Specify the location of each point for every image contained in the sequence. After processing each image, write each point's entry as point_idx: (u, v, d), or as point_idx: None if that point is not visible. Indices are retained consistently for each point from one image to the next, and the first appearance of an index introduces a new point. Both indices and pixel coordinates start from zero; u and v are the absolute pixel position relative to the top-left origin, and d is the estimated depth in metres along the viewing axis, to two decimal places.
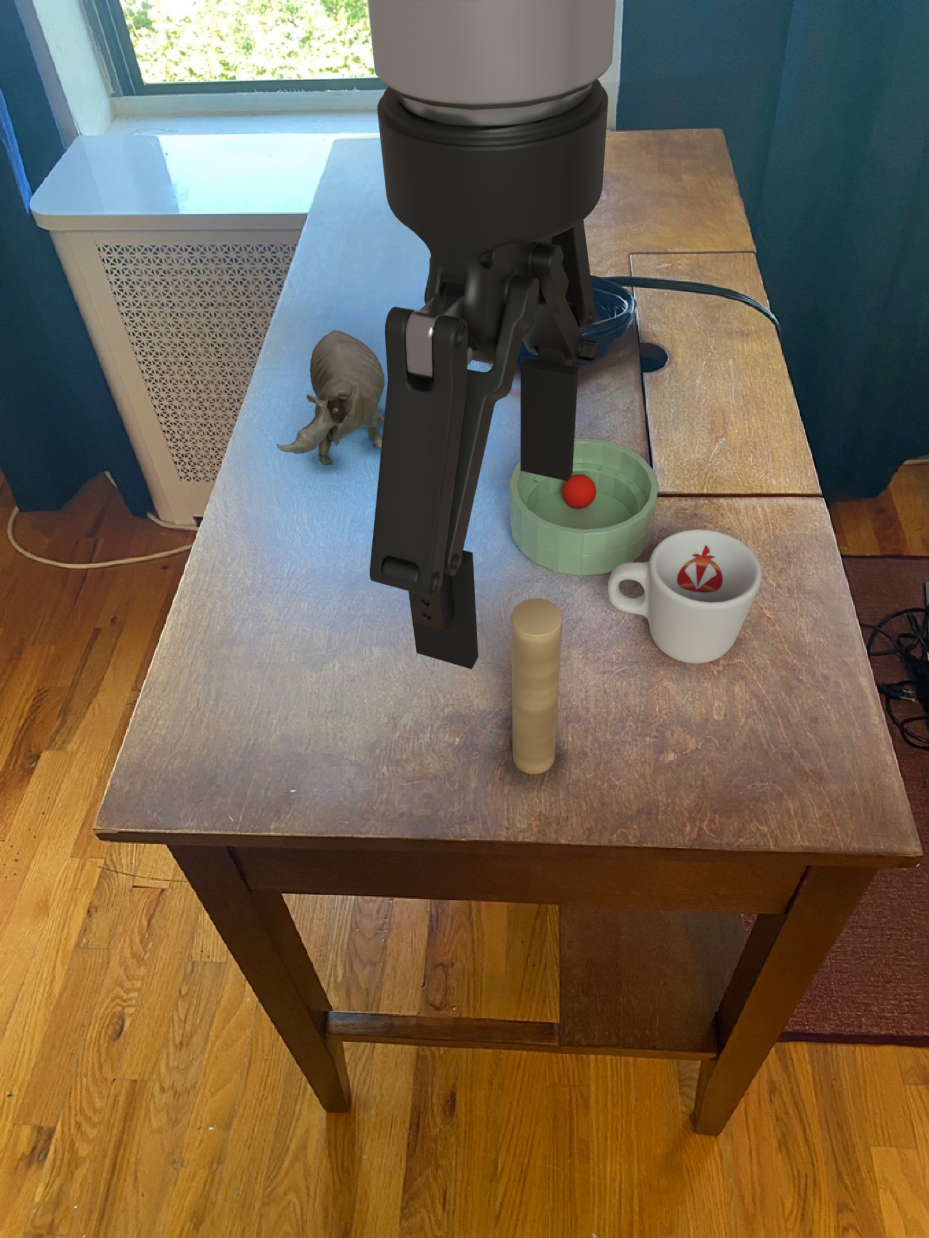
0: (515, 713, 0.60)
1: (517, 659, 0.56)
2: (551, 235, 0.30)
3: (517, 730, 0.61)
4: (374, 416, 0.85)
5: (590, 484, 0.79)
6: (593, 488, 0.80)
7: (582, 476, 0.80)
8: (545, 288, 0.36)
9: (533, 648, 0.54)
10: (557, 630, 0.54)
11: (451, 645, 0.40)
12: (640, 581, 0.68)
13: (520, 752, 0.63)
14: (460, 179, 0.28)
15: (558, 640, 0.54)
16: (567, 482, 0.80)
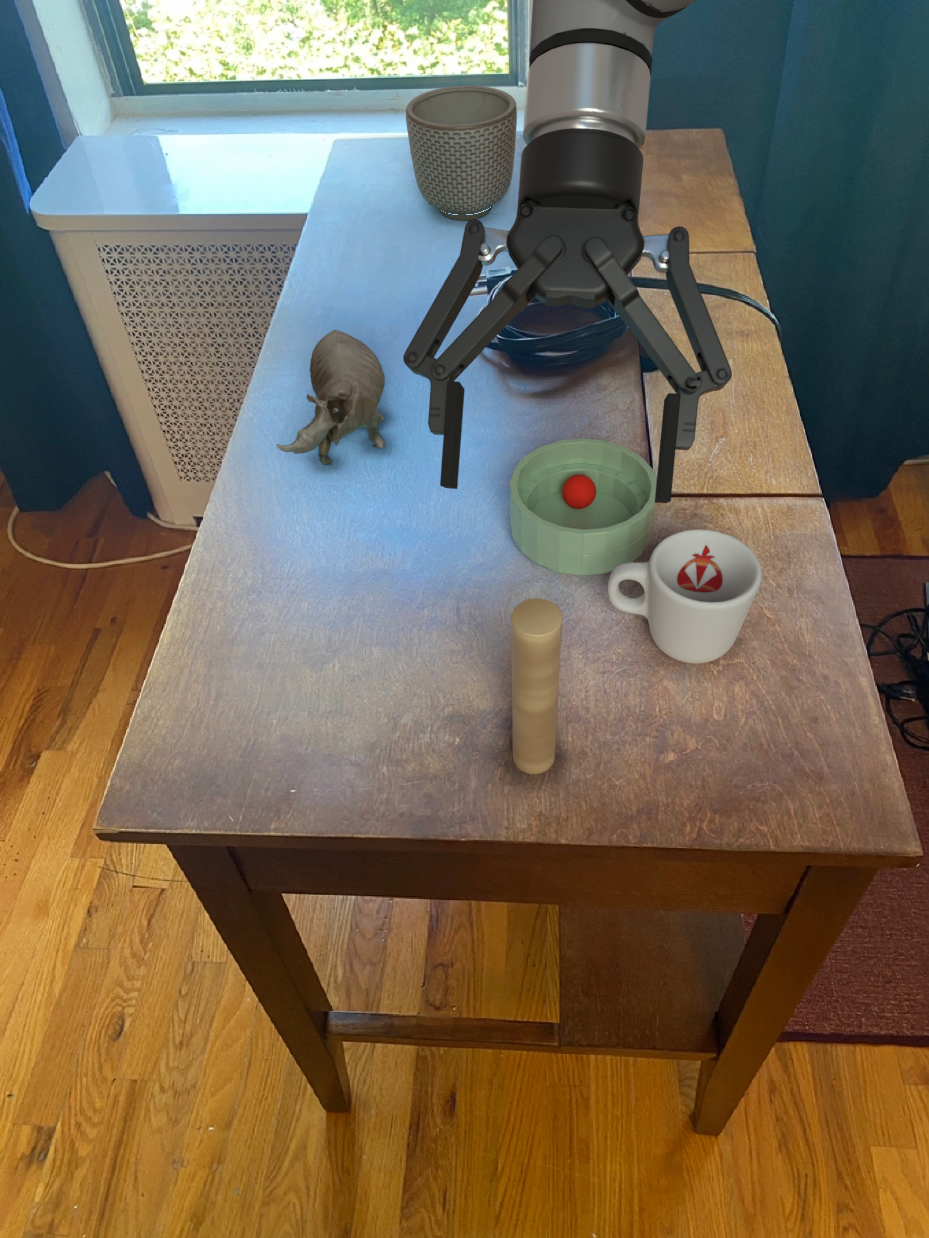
0: (515, 713, 0.60)
1: (517, 659, 0.56)
2: (540, 190, 0.54)
3: (517, 730, 0.61)
4: (374, 416, 0.85)
5: (590, 484, 0.79)
6: (593, 488, 0.80)
7: (582, 476, 0.80)
8: (598, 271, 0.56)
9: (533, 648, 0.54)
10: (557, 630, 0.54)
11: None
12: (640, 581, 0.68)
13: (520, 752, 0.63)
14: (520, 171, 0.57)
15: (558, 640, 0.54)
16: (567, 482, 0.80)
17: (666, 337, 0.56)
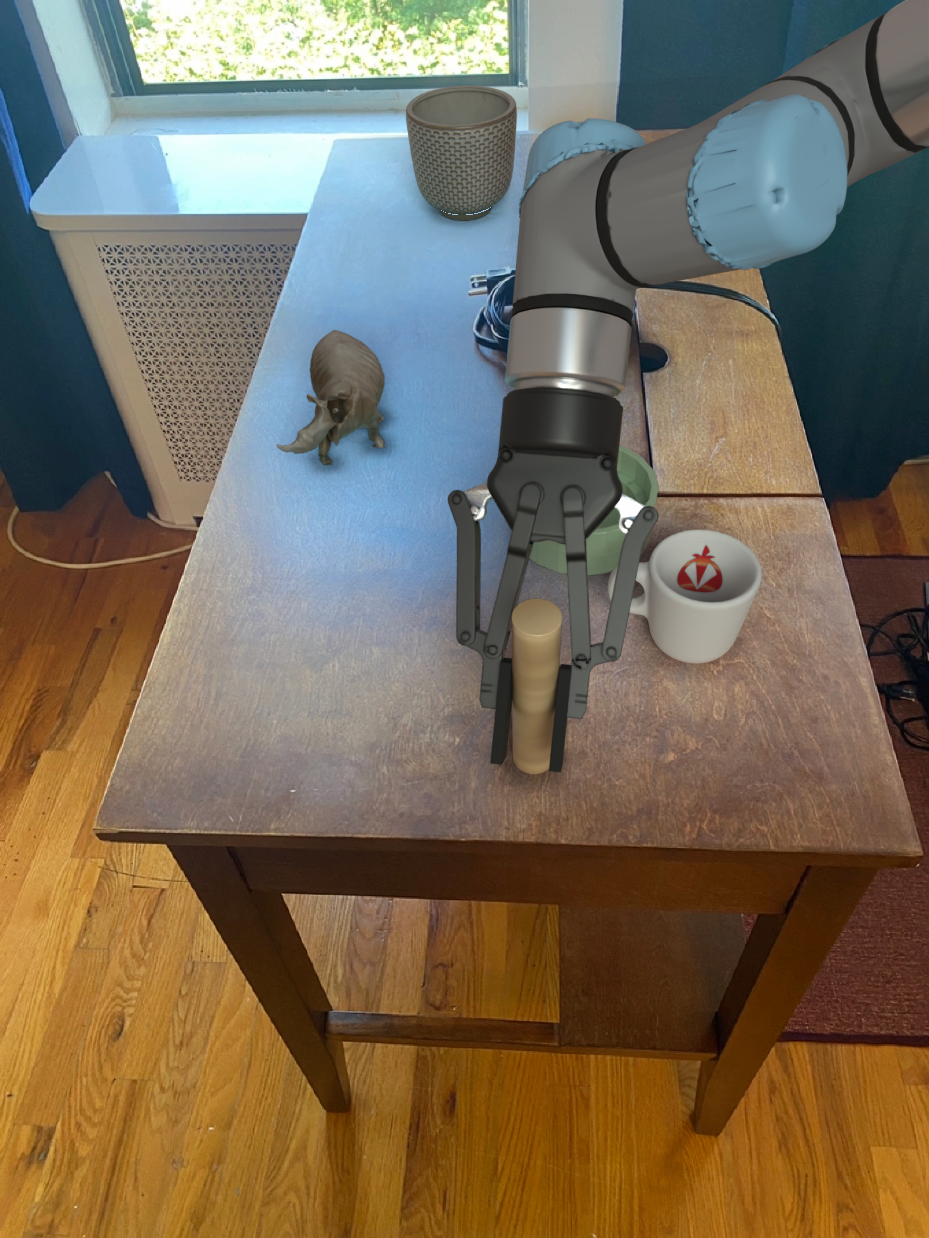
0: (515, 713, 0.60)
1: (517, 659, 0.56)
2: (518, 444, 0.55)
3: (517, 730, 0.61)
4: (374, 416, 0.85)
5: None
6: None
7: None
8: (564, 517, 0.56)
9: (533, 648, 0.54)
10: (557, 630, 0.54)
11: None
12: (640, 581, 0.68)
13: (520, 752, 0.63)
14: None
15: (558, 640, 0.54)
16: None
17: (585, 608, 0.57)
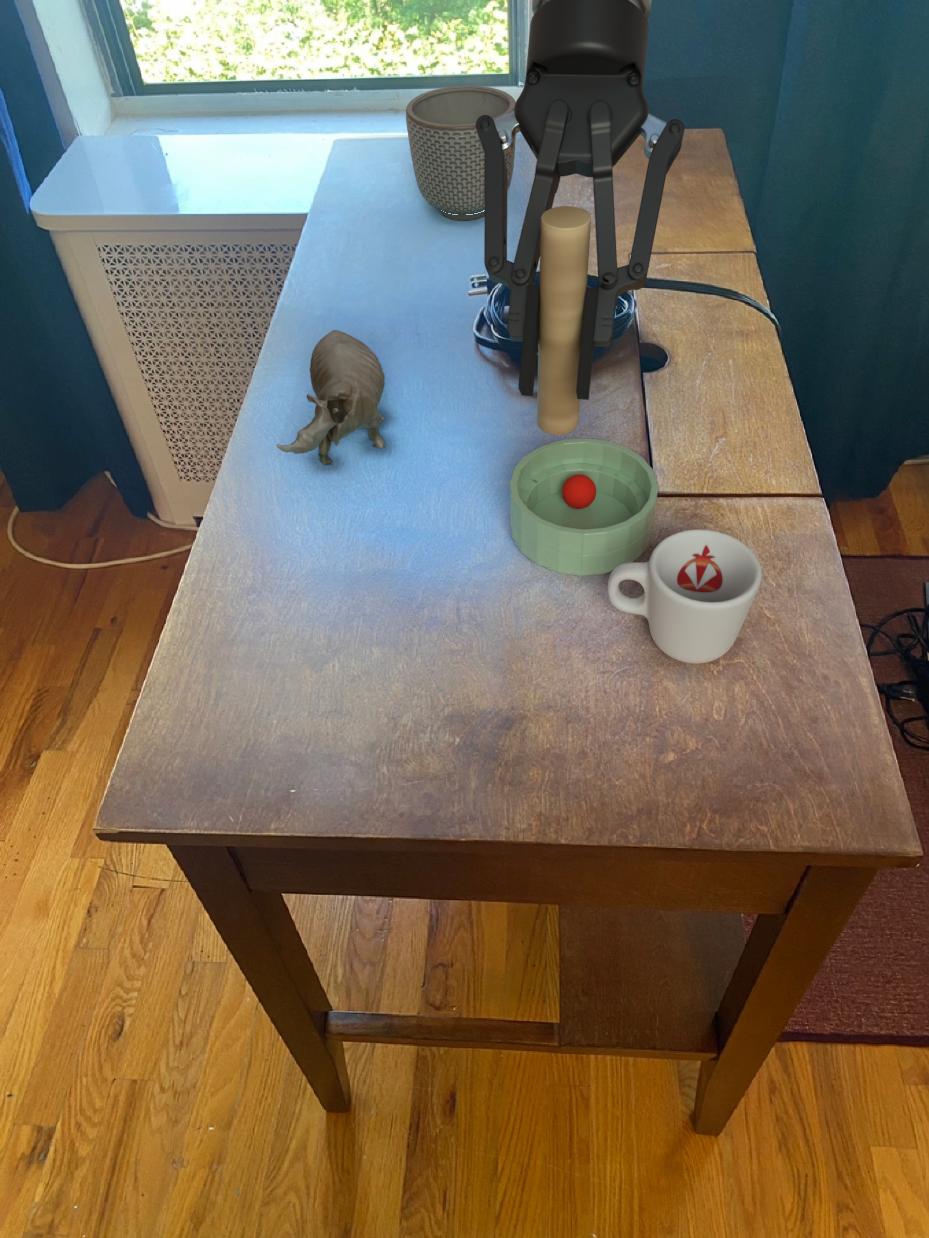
0: (541, 352, 0.61)
1: (545, 270, 0.57)
2: (546, 54, 0.56)
3: (543, 375, 0.62)
4: (374, 416, 0.85)
5: (590, 484, 0.79)
6: (593, 488, 0.80)
7: (582, 476, 0.80)
8: (591, 134, 0.57)
9: (562, 247, 0.55)
10: (587, 227, 0.54)
11: None
12: (640, 581, 0.68)
13: (545, 405, 0.64)
14: None
15: (587, 243, 0.55)
16: (567, 482, 0.80)
17: (612, 227, 0.58)
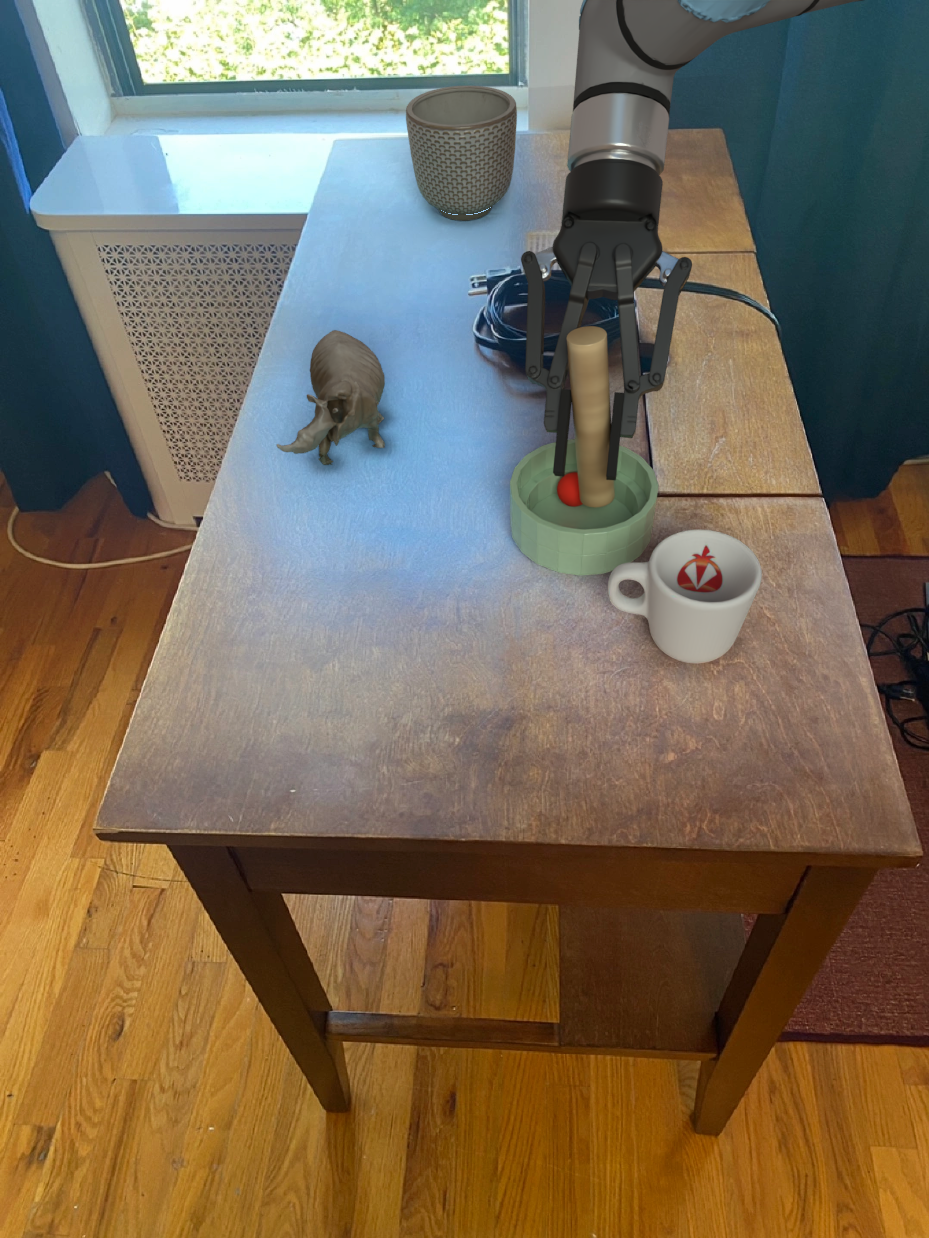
0: (578, 442, 0.74)
1: (575, 378, 0.70)
2: (580, 207, 0.69)
3: (581, 460, 0.75)
4: (374, 416, 0.85)
5: None
6: None
7: (573, 472, 0.80)
8: (616, 269, 0.70)
9: (586, 359, 0.68)
10: (604, 342, 0.68)
11: None
12: (640, 581, 0.68)
13: (586, 484, 0.76)
14: (564, 192, 0.72)
15: (605, 353, 0.69)
16: (559, 481, 0.81)
17: (635, 343, 0.71)
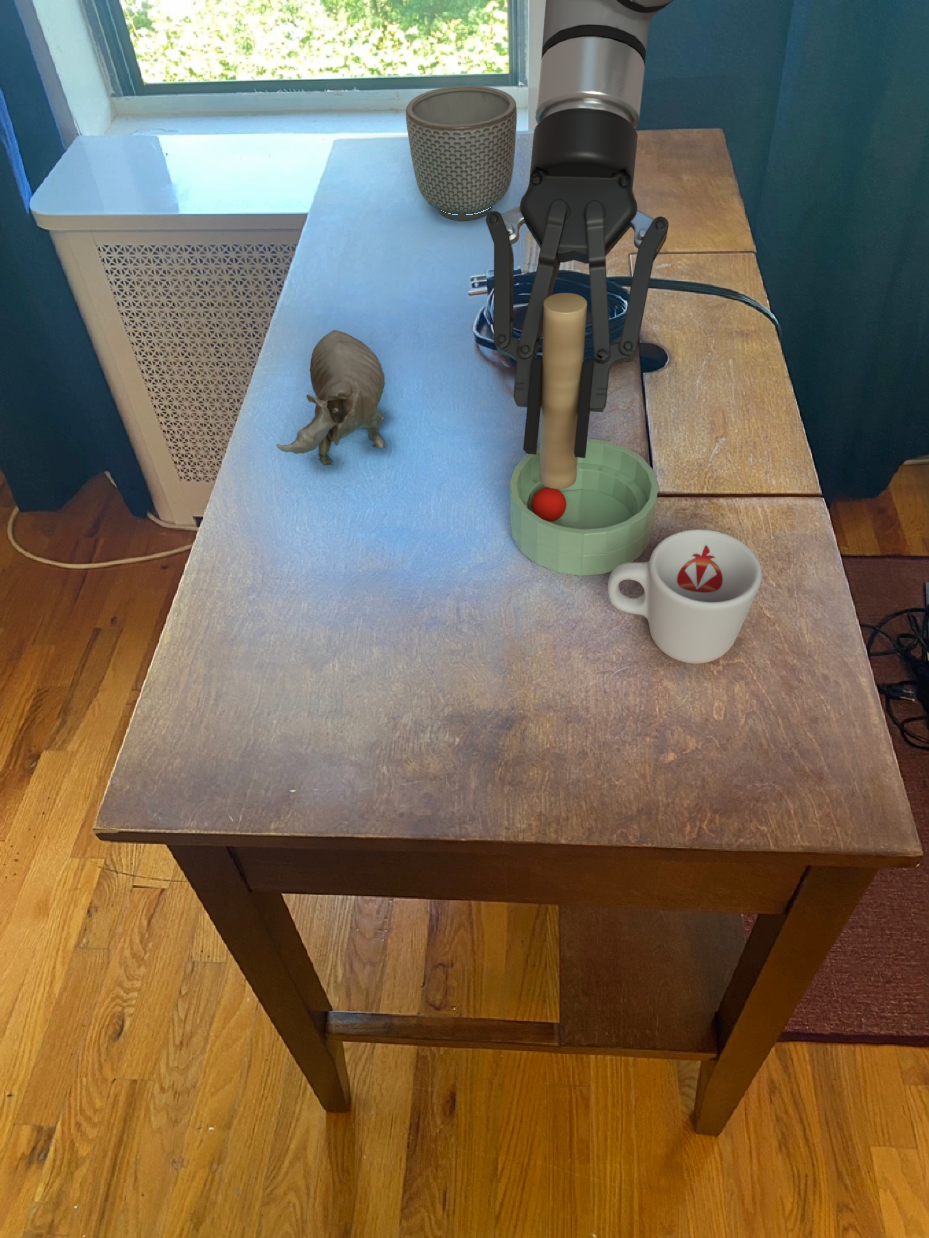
0: (543, 417, 0.69)
1: (547, 347, 0.65)
2: (548, 161, 0.64)
3: (545, 437, 0.70)
4: (374, 416, 0.85)
5: (538, 513, 0.79)
6: (543, 515, 0.79)
7: (532, 504, 0.79)
8: (587, 229, 0.65)
9: (562, 328, 0.63)
10: (583, 312, 0.63)
11: None
12: (640, 581, 0.68)
13: (547, 463, 0.72)
14: None
15: (583, 325, 0.64)
16: None
17: (605, 309, 0.66)
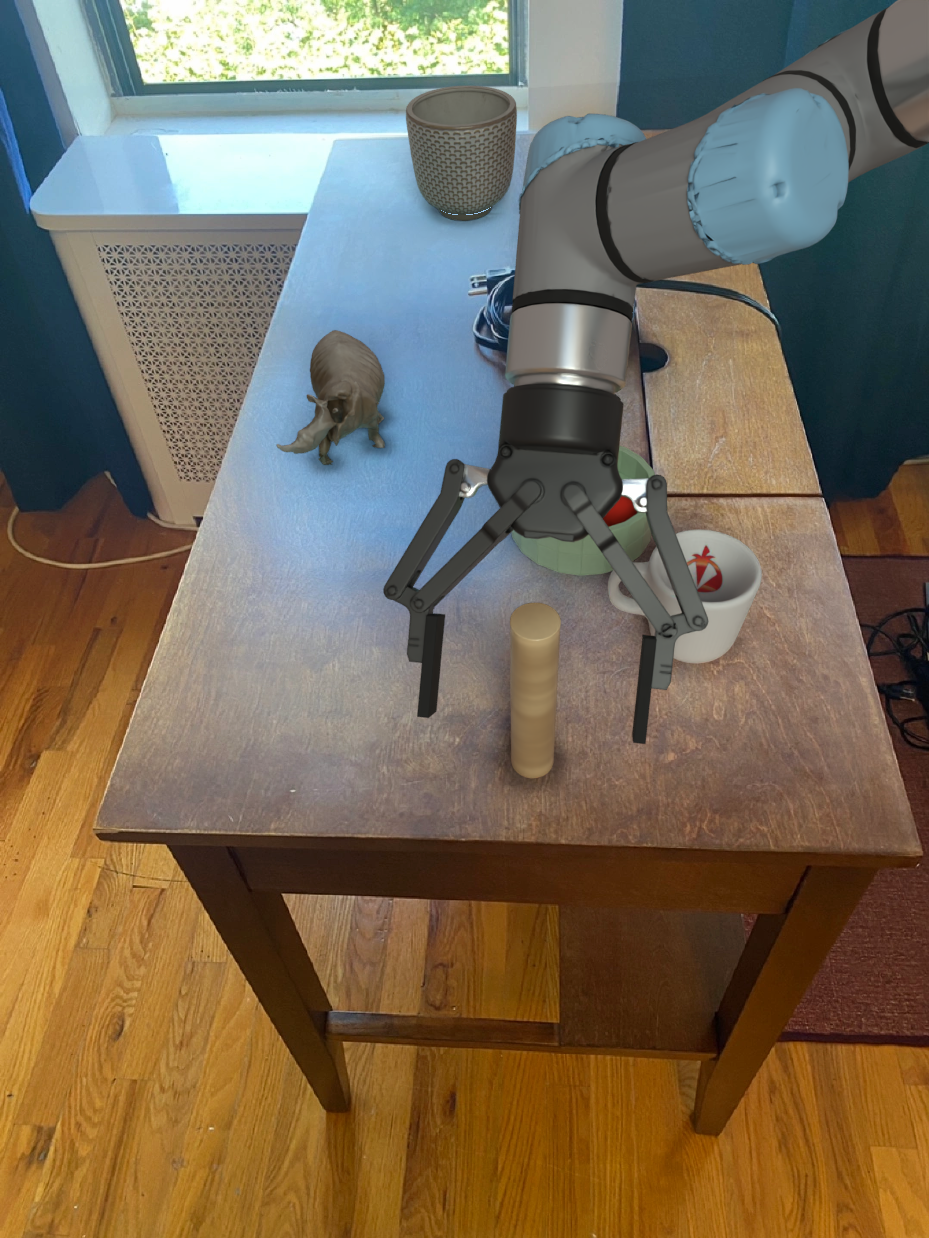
0: (513, 717, 0.60)
1: (515, 664, 0.55)
2: (518, 440, 0.55)
3: (516, 734, 0.61)
4: (374, 416, 0.85)
5: None
6: None
7: None
8: (576, 515, 0.56)
9: (531, 652, 0.54)
10: (556, 634, 0.53)
11: None
12: None
13: (519, 756, 0.63)
14: None
15: (556, 644, 0.54)
16: None
17: (643, 582, 0.56)
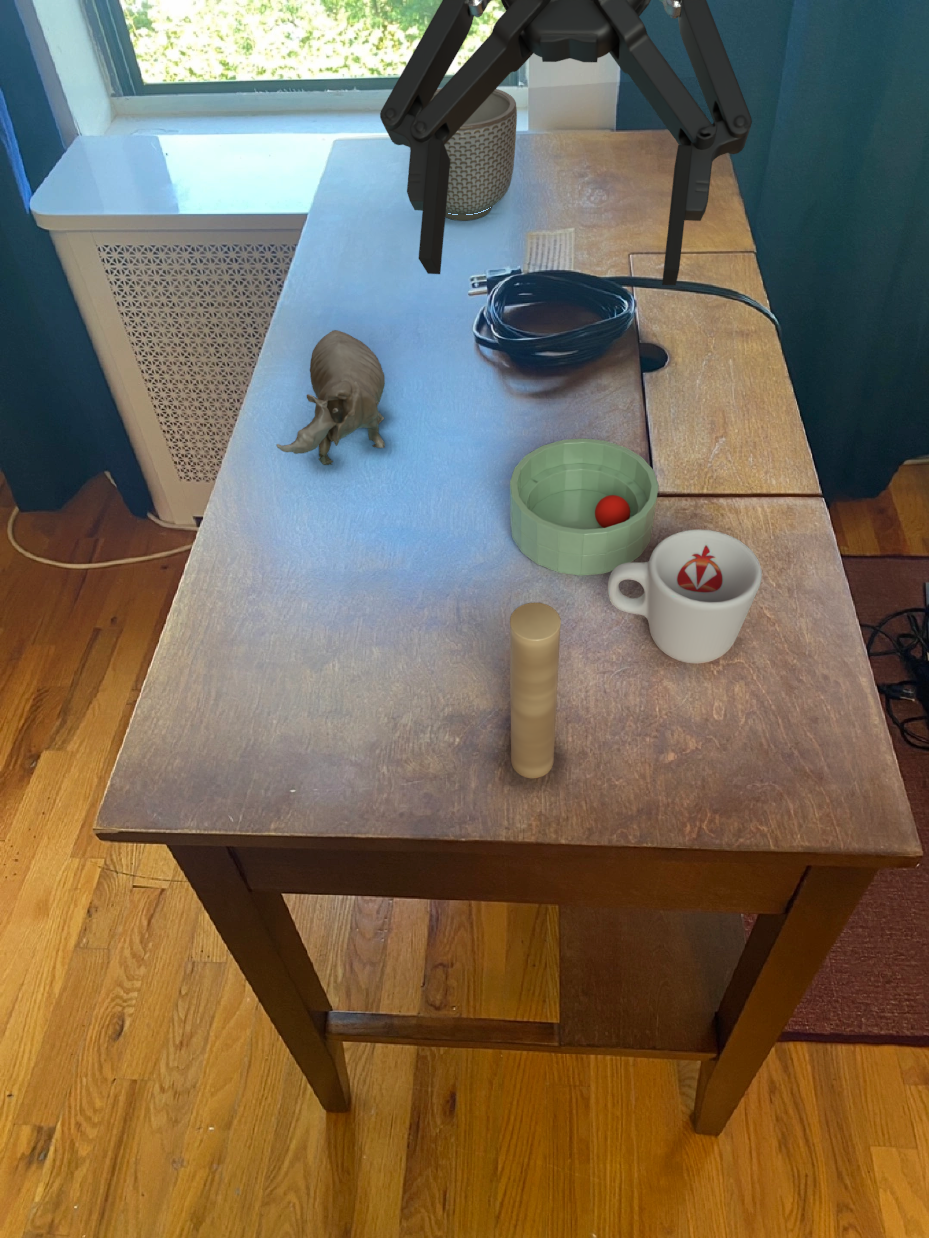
0: (513, 717, 0.60)
1: (515, 664, 0.55)
2: None
3: (516, 734, 0.61)
4: (374, 416, 0.85)
5: None
6: None
7: None
8: (600, 7, 0.49)
9: (531, 652, 0.54)
10: (556, 634, 0.53)
11: None
12: (640, 581, 0.68)
13: (519, 756, 0.63)
14: None
15: (556, 644, 0.54)
16: None
17: (677, 82, 0.49)
